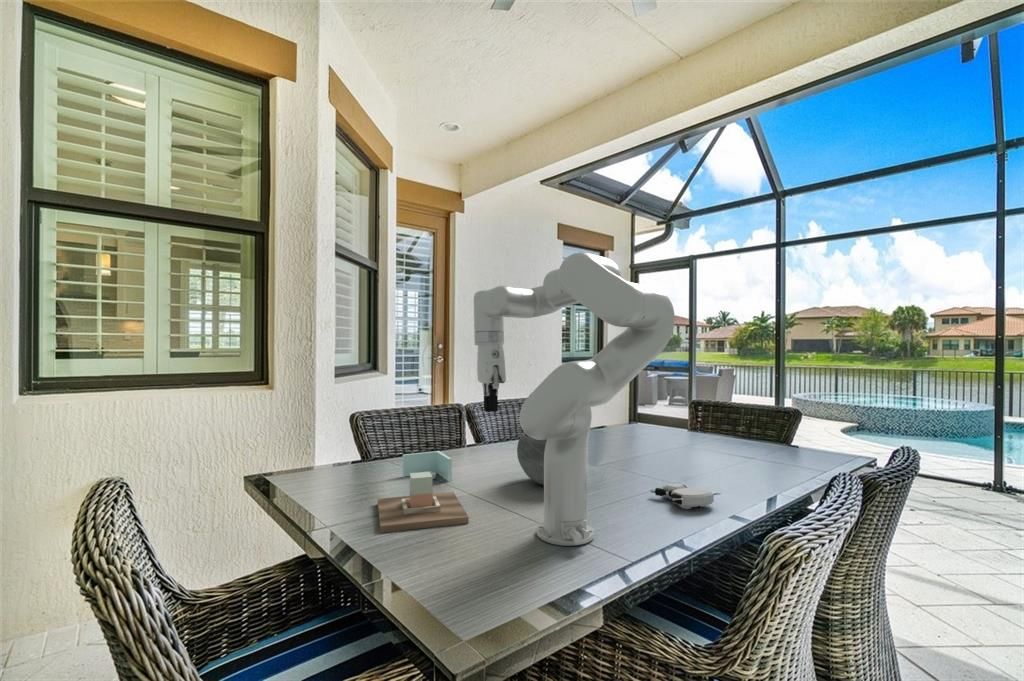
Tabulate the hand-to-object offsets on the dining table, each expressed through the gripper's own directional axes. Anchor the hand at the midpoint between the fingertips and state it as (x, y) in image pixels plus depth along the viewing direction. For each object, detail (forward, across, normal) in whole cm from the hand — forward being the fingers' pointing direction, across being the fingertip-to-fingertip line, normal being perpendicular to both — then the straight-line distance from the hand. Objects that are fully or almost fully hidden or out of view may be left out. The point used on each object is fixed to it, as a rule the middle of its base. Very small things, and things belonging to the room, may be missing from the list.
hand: (491, 411), depth 122 cm
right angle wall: (+24, +35, +11) cm, 44 cm away
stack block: (+23, +4, +18) cm, 29 cm away
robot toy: (+27, -11, -50) cm, 57 cm away
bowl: (+25, +18, -24) cm, 39 cm away
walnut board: (+25, +4, +18) cm, 31 cm away
